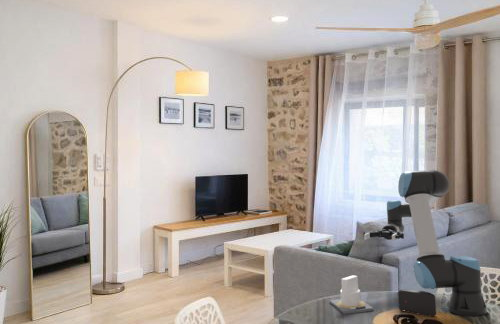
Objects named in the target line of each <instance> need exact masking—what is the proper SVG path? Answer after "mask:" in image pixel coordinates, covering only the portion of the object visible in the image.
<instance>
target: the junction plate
mask: <svg viewBox="0 0 500 324" xmlns="http://www.w3.org/2000/svg"><path fill="white" fill-rule="evenodd" d="M329 303H330V305H332V306H333V307H334V308H336V309H337V310H338V311H340V313H342V314H344V315H348V314H349V315H350V314H358V313H365V312H367V313H368V312H373V311H375V310H374V309H375V307H373V306H371V305H370V304H368V303H367V302H366V301H364V300H362V299H361V304H360V305H358V306H344V305H342V304H341V298H338V299H337V298H336V299H329Z"/></svg>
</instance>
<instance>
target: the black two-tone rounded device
mask: <svg viewBox="0 0 500 324" xmlns="http://www.w3.org/2000/svg"><path fill="white" fill-rule="evenodd" d="M397 297H398V298H397V299H398V309H399V310H400V311H401V310H405V311H409V312H408V313H410V312H413V313H412V314H416V313H419V314H418V315H422V314H424V315H423V316H428V315H431V316H430V317H435V316H436V315H437V308H436V307H437V305H436V296H435V294H434V293H433V292H432V293H431V292H428V291H424V290H419V289H418V290H417V289H399V290H398V291H397Z"/></svg>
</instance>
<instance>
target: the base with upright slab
mask: <svg viewBox="0 0 500 324" xmlns="http://www.w3.org/2000/svg"><path fill="white" fill-rule="evenodd" d="M358 277H359V276H358V275H350V276H346V277H342V278H341V279H340V281H341V289H340V290H339V291H340V299H341V304H342V305H344V306H358V305H360V304H361V300H362V299H361V289H359V279H358Z"/></svg>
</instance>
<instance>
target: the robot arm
mask: <svg viewBox="0 0 500 324" xmlns="http://www.w3.org/2000/svg"><path fill="white" fill-rule="evenodd" d="M397 188H398V195H399V196H400V197H401V198H404V201H405V203H403V202H402V201H401V200H399V199H394V200H392V199H391V200H387V201H386V214H387V216H386V217H387V225H385V226H383V227H382V229H378V230H375V229H374V230H371V231H363V233H362V235H363V238H364V240H363V241H366V240H370V238H384V239H385V240H388V241H391V242H392V241H393V242H395V241H396V240H398V239H404V238H405V234H404V231H405V226H404V224H403V218H411V220H412V224H413V230H414V234H415V240H416V245H417V251H418V256H417V257H416V261H415V262H414V263H413V273H414V274H413V275H414V276H415V277H414V278H415V280H416V281H417V284H418V285H419V286H420V287H421V288H422V289H426V290H427V289H428V290H429V289H430V290H431V289H432V290H435V289H449V288H451V294H450V298H449V301H448V305H447V306H448V308H447V309H448V311H449V312H451V313H453V314H456V315H460V316H468V317H477V316H478V317H479V316H483V315H486V314H487V313H488V310H487V304H486V301H485V300H484V297H483V295H482V283H481V282H482V278H481V277H482V276H481V272H482V270H481V265H480V261H479V260H478V259H477V258H474V257H471V256H464V255H456V254H455V255H450V257H449V259H446V258H445V255H444V253H442V252H441V251H440V248H439V243H438V239H437V234H436V233H437V232H436V229H435V226H434V221H433V220H434V219H433V215H432V211H431V207H432V206H433V205H434V203H436V202H437V200H439V198H443V197H444V196H445V195H447V193H449V190H450V188H451V183H450V180H449V178H448V176H447V175H446V174H445V173H444V172H441V171H439V170H435V169H431V170H408V171H403V172H402V173H401V174H400V176H399V177H398V186H397Z"/></svg>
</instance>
